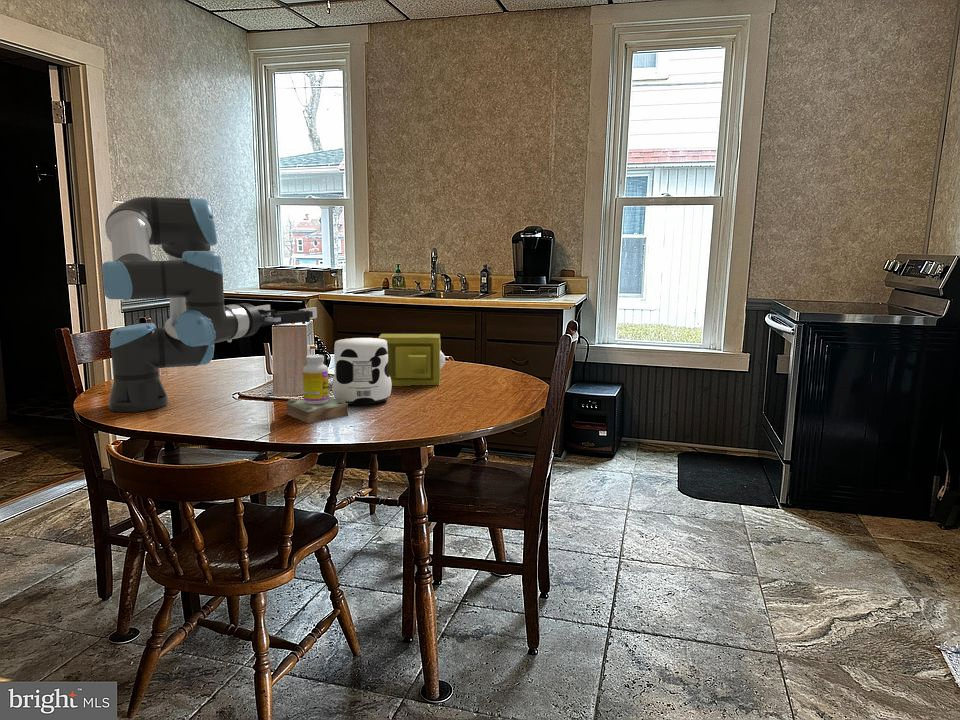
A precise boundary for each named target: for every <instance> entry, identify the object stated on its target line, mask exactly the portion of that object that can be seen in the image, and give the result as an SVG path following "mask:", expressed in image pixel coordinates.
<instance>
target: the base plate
mask: <svg viewBox="0 0 960 720" xmlns="http://www.w3.org/2000/svg"><path fill="white" fill-rule="evenodd" d="M348 406H349V404H348V403H346V402H345V400H337V399H335V397H331V396H329V401H328V402H327V403H325V404H320V405H310V404H306V403H305V402H304V398H302V399H295V398H290V399H288V401H286V415H288V416H290V417H292V418H295V419H296V420H299V421H301V422H304V423H306V424H312V423H315V422H316V423H317V422H323V421H327V420H332V419H337V418H343V417H348V416H349V407H348Z"/></svg>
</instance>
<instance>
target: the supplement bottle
mask: <svg viewBox="0 0 960 720" xmlns="http://www.w3.org/2000/svg"><path fill="white" fill-rule="evenodd" d="M305 361H306V365H304V366H303V368H302V380H303V381H302V382H303V383H302V384H303V385H302V386H303V389H302V390H303V399H304V402H305V403H306V404H310V405H320V404H325V403H327V402H328V401H329V397H330V396H329V395H330V393H329V391H330V390H329V368H328V366H327V365H326V364H324V361H325V356H324V355H323V354H308V355H306V356H305Z"/></svg>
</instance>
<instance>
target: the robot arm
mask: <svg viewBox="0 0 960 720" xmlns="http://www.w3.org/2000/svg"><path fill="white" fill-rule="evenodd" d="M213 213H214V212H213V209H212V205H211V203H210V202H209V201H208V200H206V199H204V198H194V197H192V196H191V197H189V198H186V197H161V196H160V197H159V196H157V197H156V196H141V197H139V196H137V197H135V198H131V199H129V200H128V199H127V200H126V201H124V202H121V203H120V204H119V205H117V206H116V207H115V208H114V209H112V210H111V211H110V212H109V214H108V216H107V218H106V220H105V224H104V225H105V234H106V237H107V239H108V240H109V242H110V243H111V254H112V255H111V256H112V260H110V261H106V262H105V261H104V262H103V263H102V265H101V272H102V273H101V275H102V282H103V283H102V284H103V293H104V296H105V298H107V299H109V300H123V301H129V300H130V301H131V300H146V299H147V300H149V299H151V300H152V299H153V300H154V299H169V315H170V316H169V318H167V320H166V321H165V323H164V327H157V325H156V324H155V323H154V322H145V323H141V322H140V323H135V324H129V325H126V326H121V327H118V328H115V329H113V330H112V331H111V332H110V336H109V338H110V340H109V341H110V342H109V343H110V345H109V349H110V352H111V363H112V375H113V376H112V377H113V383H112V387H111V390H110V394H109V398H108V409H109V410H110V411H112V412H118V413H119V412H120V413H135V412H144V411H151V410H157V409H160V408H163V407H166V406H167V405H168V403H169V400H168V395H167V392H166V390H165V388H164V386H163V383H162V380H161V378H160V373H159V371H160V370H159V369H165V368H167V369H168V368H180V367H181V368H183V367H184V368H185V367H199V366H203V365H207V364H210V363H211V362H212V360H213V356H214V352H215V344H216V343H221V342H225V341H227V343H232V341H233V340H235V339H239V338H245V337H250V336H253V335H255V334H257V332H258V331H259V329H260V328H261V327H266V326H275V327H276V326H279V325H289V324H299V323H301V324H302V325H306V323H310V322H311V320H313V319H318V308H317V306H313V307H307V308H302V309H301V308H300V309H298V310H289V311H288V310H287V311H285V310H284V311H276V310H275V309H271V304H263V305H257V306H255V305H253V304H251V303H247V302H242V303H235V304H234V303H233V304H226V305H225V295H224V294H225V293H224V276H223V275H224V272H223V264H222V256H221V254H219V253H218V252H217V251H216V250H215V251H214V250H211V246H212V247H213V246H216V245H217V244H218V237H217V236H218V235H217V231H216V225H215V218H214V214H213ZM150 245H151V246H152V245H154V246H161V248H162V251H163V252H164V253H165V254H166V255H167V256H168V260H153V256H152V252H151V246H150Z"/></svg>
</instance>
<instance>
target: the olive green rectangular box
mask: <svg viewBox="0 0 960 720" xmlns="http://www.w3.org/2000/svg"><path fill="white" fill-rule="evenodd" d="M378 339H384V340H387V346H388V371H389V375H390V378H391V383H392V387H393V386H394V387H398V386H399V387H403V386H404V387H405V386H406V387H407V386H408V387H412V386H411V385H439V384H440V383H441V376H442V374H441V373H442V370H441V369H442V368H443V367H444V366H445V364H446V355H445V354H444V352H442V350H441V348H442V347H441V345H442V344H441V343H442V342H441V341H442V340H441V334H440V333H381V334H379V336H378ZM439 386H440V385H439Z"/></svg>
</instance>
